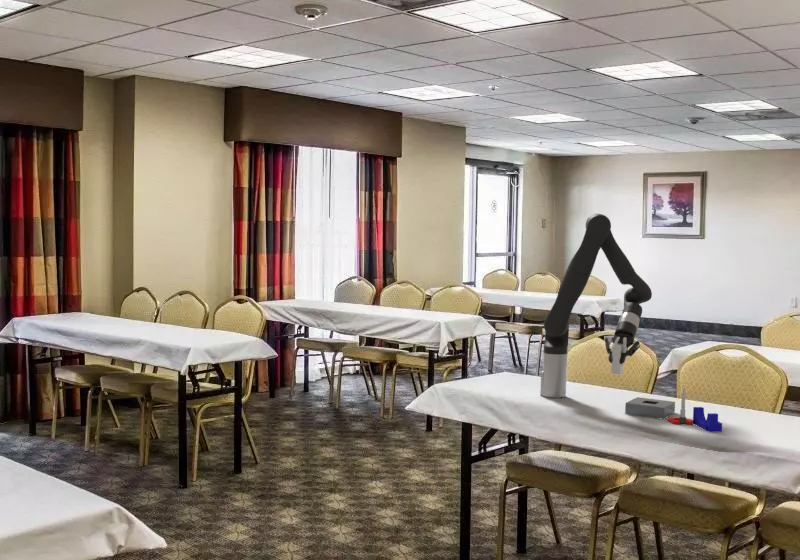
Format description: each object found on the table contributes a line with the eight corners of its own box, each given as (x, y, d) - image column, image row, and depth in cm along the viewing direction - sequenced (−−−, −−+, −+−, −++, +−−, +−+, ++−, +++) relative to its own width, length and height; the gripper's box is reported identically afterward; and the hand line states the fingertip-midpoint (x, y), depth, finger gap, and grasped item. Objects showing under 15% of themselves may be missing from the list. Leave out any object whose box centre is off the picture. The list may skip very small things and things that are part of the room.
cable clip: (721, 432, 290) (722, 414, 290) (708, 432, 289) (709, 414, 289) (705, 424, 302) (705, 407, 302) (692, 424, 301) (693, 407, 301)
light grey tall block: (611, 373, 323) (612, 344, 322) (614, 372, 326) (615, 343, 325) (619, 374, 321) (621, 344, 321) (622, 373, 324) (623, 344, 323)
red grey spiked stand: (666, 419, 309) (670, 424, 300) (667, 383, 309) (671, 386, 300) (690, 421, 308) (695, 425, 299) (692, 384, 308) (696, 388, 298)
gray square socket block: (625, 413, 315) (625, 402, 315) (636, 407, 327) (637, 397, 327) (664, 419, 308) (664, 407, 308) (674, 412, 320) (675, 401, 319)
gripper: (607, 318, 332) (595, 354, 323) (644, 322, 325) (632, 358, 315) (611, 331, 337) (599, 366, 328) (647, 334, 330) (636, 370, 320)
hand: (615, 362), depth 322 cm, fingers closed on light grey tall block, 3 cm apart
